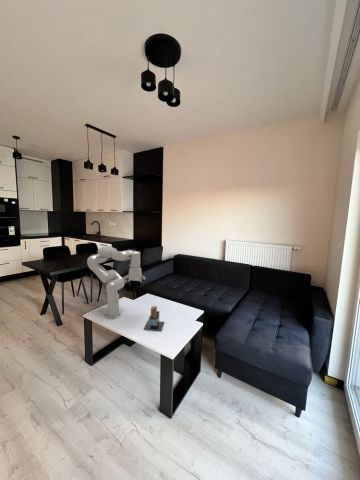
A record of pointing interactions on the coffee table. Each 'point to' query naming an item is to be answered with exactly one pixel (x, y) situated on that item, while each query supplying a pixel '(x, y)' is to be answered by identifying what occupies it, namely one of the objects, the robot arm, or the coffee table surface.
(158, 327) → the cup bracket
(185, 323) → the coffee table surface
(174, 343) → the coffee table surface
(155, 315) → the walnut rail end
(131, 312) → the coffee table surface
